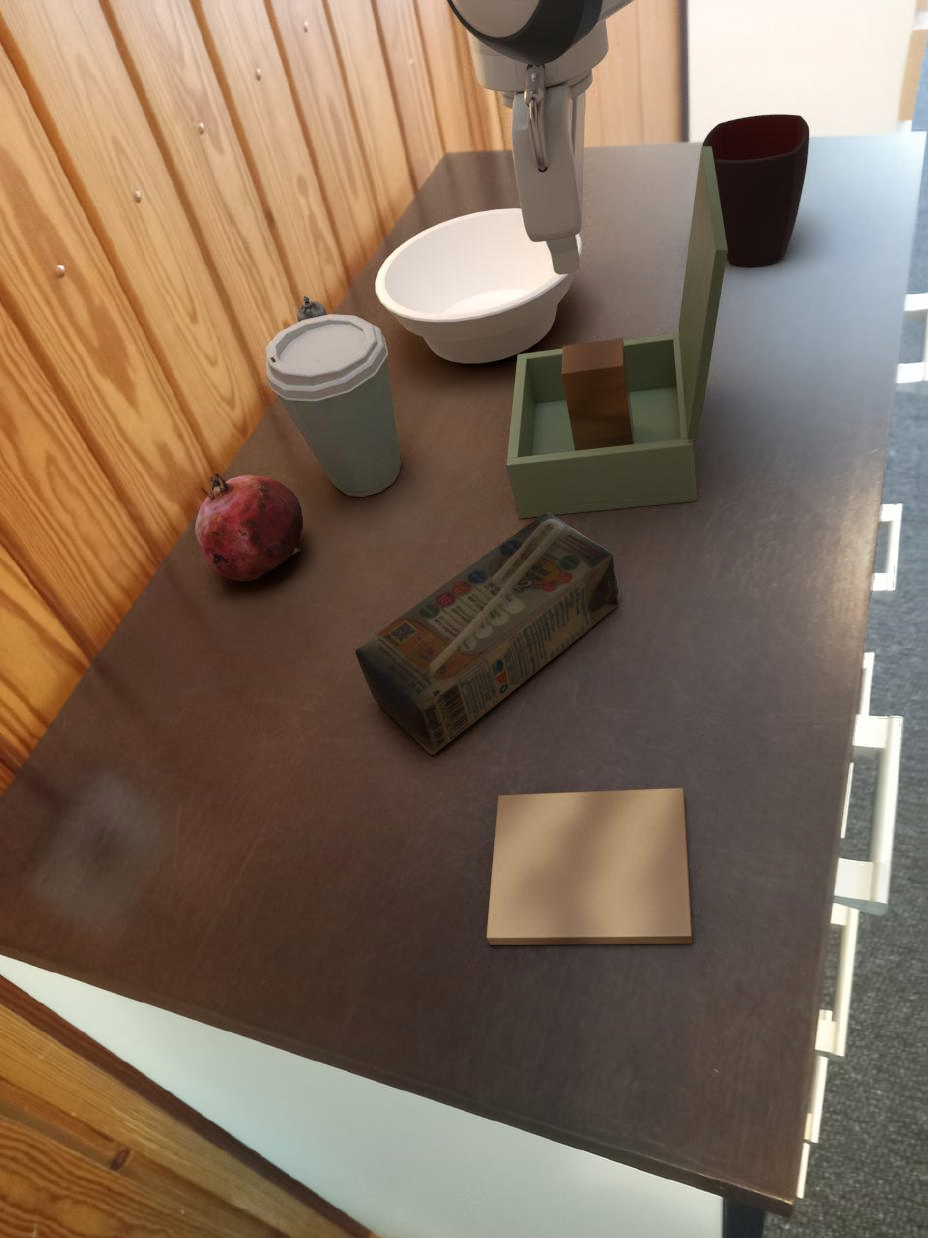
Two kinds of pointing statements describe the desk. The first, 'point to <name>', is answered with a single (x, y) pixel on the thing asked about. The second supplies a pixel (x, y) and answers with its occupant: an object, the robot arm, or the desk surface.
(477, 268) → the bowl
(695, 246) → the lid
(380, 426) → the disposable coffee cup
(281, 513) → the fruit
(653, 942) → the board
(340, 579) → the desk surface
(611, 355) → the brown wooden block
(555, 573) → the beverage carton
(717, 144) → the dark brown plant pot
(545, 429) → the green box base
